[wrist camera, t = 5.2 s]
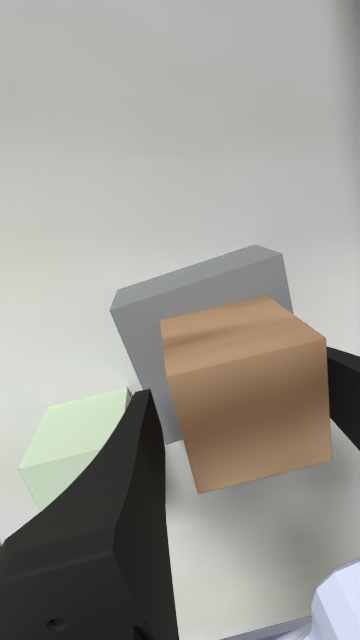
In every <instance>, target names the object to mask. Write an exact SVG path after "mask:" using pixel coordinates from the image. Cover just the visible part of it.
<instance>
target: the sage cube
mask: <svg viewBox="0 0 360 640" xmlns="http://www.w3.org/2000/svg"><path fill="white" fill-rule="evenodd" d="M130 401H131V397H130V394H129V390H128V387H125V388H121V389H117V390H113V391H109V392H105V393H100V394H96V395H92V396H88V397H84V398H80V399H76V400H71V401H67V402H63V403H59V404H55V405H51V406H49V407H48V409H47V411H46V413H45V415H44V417H43V419H42V421H41V423H40V425H39V427H38V429H37V431H36V433H35V435H34V437H33V439H32V441H31V443H30V445H29V447H28V449H27V451H26V453H25V455H24V457H23V459H22V461H21V463H20V465H19V467H18V471H19V473H20V475H21V476H22V478H23V480H24V482H25V484H26V486H27V488H28V489H29V491H30V493H31V495H32V497H33V499H34V501H35V502H36V504H37V506H38V508H39V510H40V512H41V511H42V510H43V509H45V508H46V507H47V506H48V505H49V504H50V503H51V502H52V501H54V500H55V499H56V498H57V497H58V496H59V495H60V494H61V493H62V492H63V491H64V490H65V489H66V488H67V487H68V486H69V485H70V484H71V483H72V482H73V481H74V480H75V479H76V478H77V477H78V476H79V475H80V474H81V473H82V472H83V470H84V469H85V468H86V467H87V466H88V465H89V464H90V463H91V461H92V460H93V459H94V458H95V456H96V455H97V454H98V453H99V451H100V450H101V449H102V447H103V446H104V445H105V443H106V441H107V440H108V438H109V437H110V435H111V434H112V432H113V431H114V429H115V428H116V426H117V424H118V423H119V421H120V419H121V417H122V416H123V414H124V412H125V410H126V408H127V407H128V405H129V403H130Z"/></svg>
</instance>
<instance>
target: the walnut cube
mask: <svg viewBox="0 0 360 640" xmlns="http://www.w3.org/2000/svg"><path fill="white" fill-rule="evenodd" d="M160 326H161V334H162V343H163V351H164V360H165V368H166V377H167V381H168V384H169V388H170V392H171V396H172V399H173V403H174V407H175V410H176V414H177V418H178V422H179V425H180V429H181V433H182V436H183V440H184V444H185V448H186V451H187V455H188V459H189V462H190V466H191V470H192V474H193V477H194V481H195V485H196V488H197V492H198V494H201V493H205V492H209V491H213V490H217V489H221V488H225V487H229V486H233V485H237V484H241V483H245V482H249V481H253V480H257V479H261V478H265V477H269V476H272V475H276V474H280V473H284V472H288V471H292V470H296V469H300V468H304V467H308V466H312V465H316V464H320V463H324V462H328V461H332V456H331V435H330V413H329V392H328V371H327V350H326V338H325V337H324V336H322V335H321V334H320V333H318V332H317V331H315V330H314V329H313V328H311V327H310V326H309V325H307V324H306V323H304V322H303V321H302V320H300V319H299V318H297V317H296V316H295V315H293V314H292V313H291V312H289V311H288V310H286V309H285V308H284V307H282V306H281V305H279V304H278V303H277V302H275V301H274V300H273V299H271V298H270V297H268V296H267V295H263V296H259V297H255V298H251V299H247V300H243V301H238V302H234V303H230V304H226V305H222V306H218V307H214V308H209V309H205V310H201V311H197V312H193V313H189V314H184V315H180V316H176V317H172V318H168V319H164V320H160Z"/></svg>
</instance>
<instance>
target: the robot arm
mask: <svg viewBox="0 0 360 640" xmlns="http://www.w3.org/2000/svg"><path fill="white" fill-rule="evenodd" d="M326 350H327V371H328V392H329V413H330V418H331V419H332V420H333V421H334V422H335V424H336V425H337V426H338V427H339V428H340V429H341V430H342V431H343V433H344V434H345V435H346V436H347V437H348V438H349V439H350V440H351V442H352V443H353V444H354V445H355V446H356V447H357V448H358V449H359V451H360V357H359V356H356V355H353V354H350V353H347V352H343V351H340V350H337V349H334V348H330V347H326ZM311 613H312V616H308V617H304V618H301V619H297V620H293V621H289V622H285V623H281V624H278V625H274V626H270V627H266V628H262V629H259V630H255V631H251V632H247V633H243V634H240V635H236V636H232V637H228V638H224V639H221V640H360V558H359V559H356V560H353V561H351V562H349V563H347V564H344V565H342V566H340V567H337V568H335V569H333V570H332V571H331V572H330V573H329V574H328V575H327V576H326V577H325V578H324V579H323V580H322V581H321V582H319V583H318V585H317V588H316V592H315V595H314V598H313V601H312V605H311ZM0 640H179V635H178V627H177V619H176V610H175V601H174V593H173V584H172V575H171V565H170V556H169V546H168V536H167V526H166V509H165V446H164V438H163V430H162V426H161V423H160V419H159V416H158V413H157V409H156V406H155V403H154V399H153V396H152V392H151V389H146V390H142V391H138V392H135V394H134V395H133V397H132V399H131V401H130V403H129V405H128V407H127V408H126V410H125V412H124V414H123V416H122V417H121V419H120V421H119V423H118V424H117V426H116V428H115V429H114V431H113V432H112V434H111V435H110V437H109V438H108V440H107V441H106V443H105V445H104V446H103V447H102V449H101V450H100V451H99V453H98V454H97V455H96V456H95V458H94V459H93V460H92V461H91V463H90V464H89V465H88V466H87V467H86V468H85V469H84V470H83V472H82V473H81V474H80V475H79V476H78V477H77V478H76V479H75V480H74V481H73V482H72V483H71V484H70V485H69V486H68V487H67V488H66V489H65V490H64V491H63V492H62V493H61V494H60V495H59V496H58V497H57V498H56V499H55V500H54V501H52V502H51V503H50V504H49V505H48V506H47V507H46V508H45V509H43V510H42V511H41V512H40V513H39V514H37V515H36V516H35V517H34V518H32V519H31V520H30V521H29V522H27V523H26V524H25V525H24V526H22V527H21V528H20V529H19V530H17V531H16V532H15V533H13V534H12V535H11V536H9V537H8V538H7V539H5V541H4V543H3V545H2V548H1V550H0Z"/></svg>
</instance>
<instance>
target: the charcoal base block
mask: <svg viewBox="0 0 360 640" xmlns="http://www.w3.org/2000/svg"><path fill="white" fill-rule="evenodd" d="M263 295H267V296H268V297H270V298H271V299H273V300H274V301H275V302H277V303H278V304H279V305H281V306H282V307H284V308H285V309H286V310H288V311H289V312H291V313H292V314H293V310H292V305H291V299H290V294H289V288H288V283H287V278H286V272H285V267H284V261H283V256H282V254H281V253H278V252H275V251H272V250H269V249H266V248H263V247H260V246H257V245H252V246H249V247H246V248H243V249H240V250H237V251H234V252H231V253H228V254H225V255H222V256H219V257H216V258H213V259H210V260H207V261H204V262H201V263H198V264H195V265H192V266H189V267H186V268H183V269H180V270H176V271H173V272H170V273H167V274H164V275H161V276H158V277H155V278H152V279H149V280H146V281H143V282H140V283H137V284H134V285H131V286H128V287H125V288H122V289H119V290H117V292H116V295H115V298H114V300H113V303H112V306H111V309H110V312H111V315H112V317H113V319H114V322H115V324H116V327H117V329H118V331H119V334H120V336H121V339H122V341H123V343H124V346H125V348H126V350H127V353H128V355H129V358H130V360H131V362H132V365H133V367H134V369H135V372H136V374H137V377H138V379H139V381H140V384H141V386H142V389H143V390H146V389H151V392H152V396H153V399H154V403H155V406H156V409H157V413H158V416H159V419H160V423H161V426H162V430H163V438H164V441H165V443H166V445H167V444H170V443H173V442H176V441H179V440H182V439H183V436H182V433H181V429H180V425H179V422H178V418H177V414H176V410H175V407H174V403H173V399H172V396H171V392H170V388H169V384H168V381H167V377H166V368H165V360H164V351H163V343H162V334H161V326H160V320H164V319H168V318H172V317H176V316H180V315H184V314H189V313H193V312H197V311H201V310H205V309H209V308H214V307H218V306H222V305H226V304H230V303H234V302H238V301H243V300H247V299H251V298H255V297H259V296H263Z"/></svg>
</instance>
